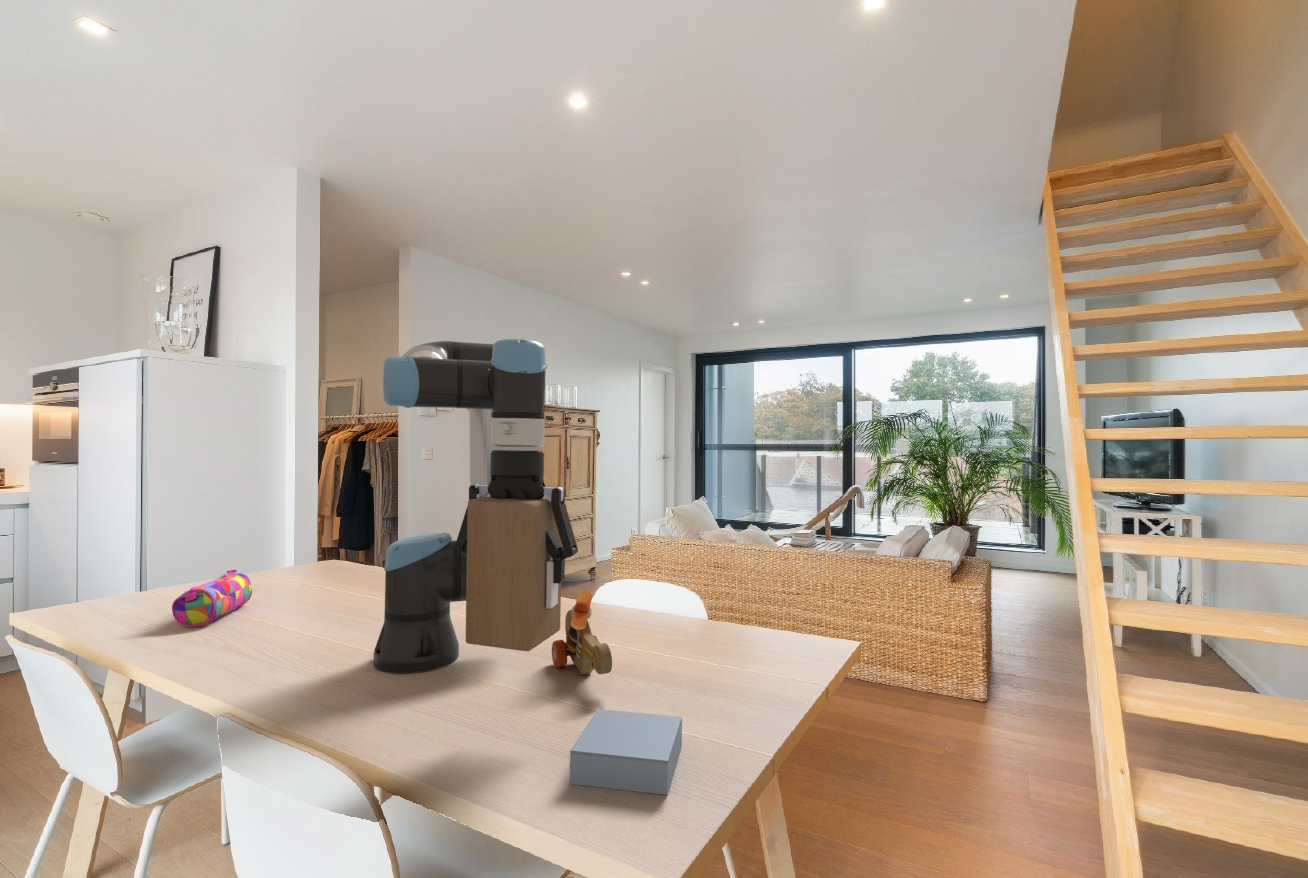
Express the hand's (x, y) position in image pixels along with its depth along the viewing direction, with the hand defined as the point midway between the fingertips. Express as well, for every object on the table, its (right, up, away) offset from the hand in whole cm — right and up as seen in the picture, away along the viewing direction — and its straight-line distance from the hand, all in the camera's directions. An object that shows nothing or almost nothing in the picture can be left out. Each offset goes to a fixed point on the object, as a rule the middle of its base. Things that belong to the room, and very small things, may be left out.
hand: (515, 603), depth 88 cm
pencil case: (-83, -18, +56) cm, 102 cm away
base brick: (+17, -18, -9) cm, 26 cm away
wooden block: (0, -5, 0) cm, 5 cm away
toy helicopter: (+8, -19, +22) cm, 30 cm away
